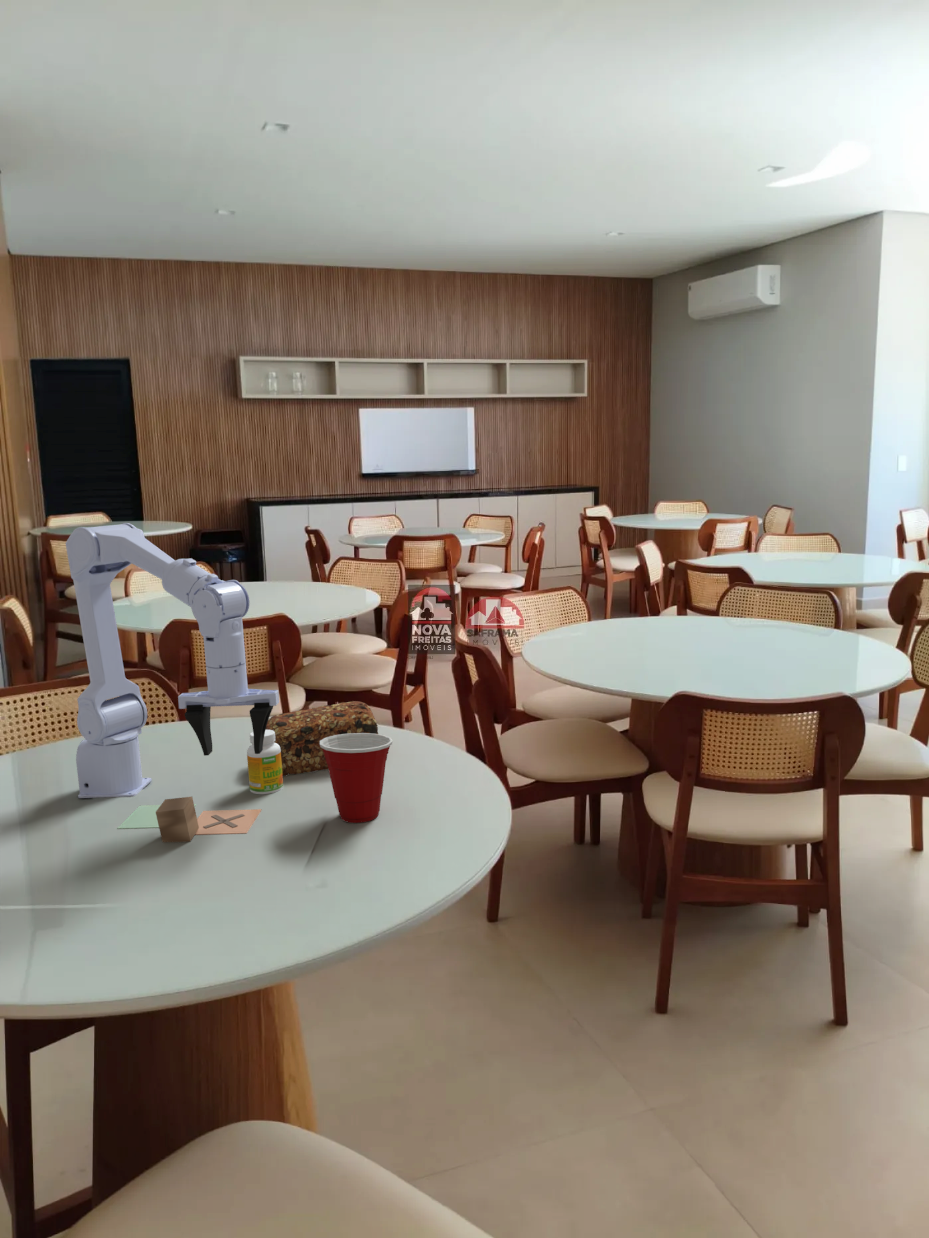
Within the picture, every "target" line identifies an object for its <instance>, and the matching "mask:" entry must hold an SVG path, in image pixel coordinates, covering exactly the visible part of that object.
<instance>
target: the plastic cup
mask: <svg viewBox="0 0 929 1238" xmlns="http://www.w3.org/2000/svg"><path fill="white" fill-rule="evenodd" d="M391 745H393V738H392V737H390V736H388V735H384V734H379V733H378V734H371V733H349V734H341V735H334V736H330V737H326V738H324V739H322V740H320V747H321V748H322V750H323V752H324V756H325V758H326V763H327V765H328V769H327V770H328V773H329V778H330V782H331V786H332V791H333V795H334V799H335V801H336V805H337V811H338V814H339V816H340V819H341V820H342V821H344V822H347V823H351V824H352V823H353V824H360V823H366V822H370V821H373V820H375V819H377V817H379V814H380V811H381V800H382V799H381V798H382V795H383V787H384V779H385V773H386V770H385V769H386V763H387V759H388V754H389V752H390V751H389V750H390V747H391Z"/></svg>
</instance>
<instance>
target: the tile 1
mask: <svg viewBox="0 0 929 1238" xmlns="http://www.w3.org/2000/svg"><path fill="white" fill-rule="evenodd" d="M160 806H161V804H152V805H150V804H147V805H139V806H138V807H137V808H135V810H134V811H133V812H132V813H131V814H130V815H129V816H128V817H127V818H126V819H125V820H124V821H123V822H122V823H120V825H119V826H117V827H116V829H117V830H125V829H126V830H128V829H130V830H131V829H159V825H158V821H157V816H156V811H157V810H158V808H159V807H160ZM196 806H197V803H194V807H195V808H196Z"/></svg>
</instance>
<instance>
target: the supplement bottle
mask: <svg viewBox="0 0 929 1238" xmlns="http://www.w3.org/2000/svg"><path fill="white" fill-rule="evenodd" d="M249 740H250V744H251V745H250V746H249V747H247V749H246V758H247V759H246V760H247V771H248V784H249V792H250V793H252V794H257V795H268V794H274V793H276V792H279V791H281V790H283V788H284V778H283V777H284V776H283V775H282V761H281V749H280V746H279V745H278V744H277V743H274V741H275V732H274V731H273V730H265V734H264V740H263V750H262V752H261V753H260V754H255V751H254V734H253V731H252V732H250V733H249Z"/></svg>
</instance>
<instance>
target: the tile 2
mask: <svg viewBox="0 0 929 1238" xmlns="http://www.w3.org/2000/svg"><path fill="white" fill-rule="evenodd" d="M262 811H263V810H262V809H261V808H258V809H227V810H226V809H223V810H221V809H220V810H218V809H217V810H215V809H214V810H202V812H201V814H200V815H199V816H198V817H197V821H198V825H199V829H198V830H197V832H196V833H195V835H194V836H201V835H202V836H203V835H236V834H237V835H240V834H241V835H243V834H244V835H245V834H248V832H249V831H250V829H251V827H252V826H253V825H254V823H255V822H256V820H257V818H258V817H259V816H260V813H261V812H262Z"/></svg>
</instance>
